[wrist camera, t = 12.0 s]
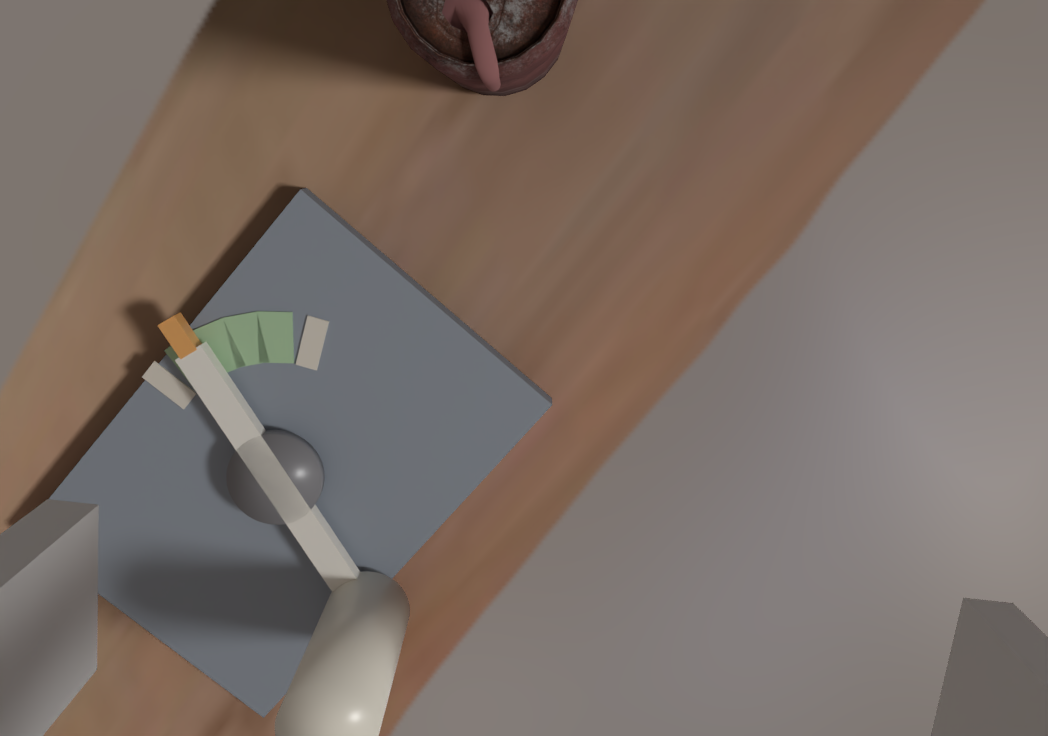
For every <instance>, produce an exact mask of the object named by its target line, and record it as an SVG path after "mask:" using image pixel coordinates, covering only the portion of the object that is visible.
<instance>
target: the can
mask: <svg viewBox="0 0 1048 736" xmlns="http://www.w3.org/2000/svg"><path fill="white" fill-rule="evenodd" d="M577 1H578V0H387V3H388V6H389V10H390V13H391V17H392V20H393V22H394V24H395V25H396V27H397V28H398V30H399V31H400V33H401V34H402V36H403V37H404V39H405V40H406V42H407V43H408V45H409V46H410V48H411V49H412V50H413V51H415V52H416V53H417V54H418V55H420V56H421V57H422V58H423V59H425V60H426V61H427V62H428V63H429V64H431V65H432V66H433V67H434V68H436V69H437V70H439V71H440V72H442V73H443V74H444V75H446V76H447V77H449V78H450V79H452V80H453V81H455V82H456V83H457V84H459V85H460V86H462V87H464V88H466V89H469V90H471V91H474V92H477V93H479V94H482V95H496V96H506V95H510V94H513V93H516V92H520V91H523V90H526V89H528V88H529V87H531V86H532V85H533V84H535V83H536V82H538V81H539V80H541V79H542V78H543V77H545V75H546V74H547V73H548V71H549V70H550V69H551V67H552V66H553V65H554V63H555V62H556V61H557V59H558V57H559V54H560V52H561V49H562V46H563V43H564V40H565V38H566V35H567V32H568V29H569V25H570V22H571V19H572V16H573V13H574V10H575V7H576V4H577Z"/></svg>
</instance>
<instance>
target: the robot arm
mask: <svg viewBox="0 0 1048 736" xmlns="http://www.w3.org/2000/svg"><path fill="white" fill-rule="evenodd" d="M98 523H99V505H97V504H88V503H78V502H69V501H60V500H51V499H47V500H46V501H44V502H43V503H42V504H40V505H39V506H38V507H36V508H35V509H34V510H32V511H31V512H30V513H28V514H27V515H26V516H24V517H23V518H22V519H20V520H19V521H18V522H16V523H15V524H14V525H12V526H11V527H9V528H8V529H7V530H5V531H4V532H3V533H1V534H0V736H43V735H44V733H45V732H46V731H47V730H48V729H49V727H50V726H51V725H52V724H53V722H54V721H55V720H56V719H57V718H58V716H59V715H60V714H61V713H62V711H63V710H64V709H65V708H66V707H67V705H68V704H69V703H70V702H71V701H72V699H73V698H74V697H75V696H76V694H77V693H78V692H79V691H80V690H81V688H82V687H83V686H84V685H85V683H86V682H87V681H88V680H89V679H90V677H91V676H92V675H93V674H94V672H95V671H96V670H97V614H98ZM931 736H1048V637H1047V636H1046V635H1045V634H1044V633H1043V632H1042V631H1041V630H1040V629H1039V628H1038V627H1037V626H1036V625H1035V624H1034V623H1033V622H1031V620H1030V619H1029V618H1028V617H1027V616H1026V615H1025V614H1024V613H1022V612H1021V610H1019V609H1018V608H1017V607H1016V606H1015V605H1014V604H1013V603H1006V602H998V601H988V600H979V599H970V598H963V601H962V606H961V610H960V614H959V618H958V623H957V627H956V631H955V635H954V639H953V644H952V648H951V652H950V657H949V661H948V666H947V670H946V674H945V678H944V682H943V686H942V690H941V695H940V699H939V703H938V708H937V712H936V716H935V720H934V725H933V729H932V733H931Z"/></svg>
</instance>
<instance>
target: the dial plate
mask: <svg viewBox="0 0 1048 736" xmlns="http://www.w3.org/2000/svg"><path fill="white" fill-rule="evenodd" d="M190 327H191V329H192V330H193V332H194V333H195V334H196V336H197V337H198V339H199V340H200V342H201V343H202V344H203V343H204V342H207V343H208V345H209V346H210V348H211V349H212V351H213V352H214V354H215V355H216V357H217V358H218V360H219V361H220V363H221V364H222V366H223V367H224V369H225V370H226V372H227V373H228V375H229V376H230V378H231V379H232V381H233V382H234V384H235V385H236V387H237V388H238V390H239V391H240V393H241V394H242V396H243V397H244V399H245V400H246V402H247V403H248V405H249V406H250V408H251V409H252V411H253V412H254V414H255V415H256V417H257V418H258V420H259V421H260V423H261V424H262V426H263V427H264V429H265V430H266V431H267V430H283V431H288V432H291V433H294V434H296V435H298V436H300V437H302V438H304V439H305V440H306V441H307V442H309V443H310V444H311V445H312V446H313V447H314V449H315V450H316V451H317V453H318V454H319V456H320V458H321V461H322V463H323V467H324V473H325V481H324V487H323V490H322V493H321V495H320V497H319V499H318V500H317V502H316V504H315V505H316V506H317V508H318V509H319V511H320V512H321V514H322V515H323V517H324V518H325V520H326V521H327V523H328V524H329V526H330V527H331V529H332V530H333V532H334V533H335V535H336V536H337V538H338V539H339V541H340V542H341V544H342V545H343V547H344V548H345V550H346V551H347V553H348V554H349V556H350V557H351V559H352V560H353V562H354V563H355V565H356V566H357V568H358V569H359V571H360V572H364V571H370V572H377V573H381V574H384V575H386V576H388V577H390V578H391V579H392V578H393V577H394V576H395V575H396V574H397V573H398V571H399V570H400V569H401V568H402V567H403V566H404V565H405V564H406V563H407V562H408V561H409V560H410V558H411V557H412V556H413V555H414V554H415V553H416V552H417V551H418V550H419V549H420V548H421V547H422V545H423V544H424V543H425V542H426V541H427V540H428V539H429V538H430V537H431V536H432V535H433V534H434V532H435V531H436V530H437V529H438V528H439V527H440V526H441V525H442V524H443V523H444V522H445V521H446V519H447V518H448V517H449V516H450V515H451V514H452V513H453V512H454V511H455V510H456V509H457V508H458V506H459V505H460V504H461V503H462V502H463V501H464V500H465V499H466V498H467V497H468V496H469V495H470V493H471V492H472V491H473V490H474V489H475V488H476V487H477V486H478V485H479V484H480V483H481V482H482V480H483V479H484V478H485V477H486V476H487V475H488V474H489V473H490V472H491V471H492V470H493V469H494V467H495V466H496V465H497V464H498V463H499V462H500V461H501V460H502V459H503V458H504V457H505V456H506V454H507V453H508V452H509V451H510V450H511V449H512V448H513V447H514V446H515V445H516V444H517V443H518V441H519V440H520V439H521V438H522V437H523V436H524V435H525V434H526V433H527V432H528V431H529V429H530V428H531V427H532V426H533V425H534V424H535V423H536V422H537V421H538V420H539V419H540V418H541V416H542V415H543V414H544V413H545V412H546V411H547V410H548V409H549V408H550V407H551V406H552V398H551V397H550V396H549V395H548V394H546V393H545V392H544V391H543V390H542V389H541V388H539V387H538V386H537V385H536V384H535V383H534V382H532V381H531V380H530V379H529V378H528V377H527V376H525V375H524V374H523V373H522V372H521V371H520V370H518V369H517V368H516V367H515V366H514V365H513V364H511V363H510V362H509V361H508V360H507V359H506V358H504V357H503V356H502V355H501V354H500V353H499V352H497V351H496V350H495V349H494V348H493V347H492V346H490V345H489V344H488V343H487V342H486V341H485V340H483V339H482V338H481V337H480V336H479V335H478V334H476V333H475V332H474V331H473V330H472V329H471V328H469V327H468V326H467V325H466V324H465V323H464V322H462V321H461V320H460V319H459V318H458V317H457V316H455V315H454V314H453V313H452V312H451V311H450V310H448V309H447V308H446V307H445V306H444V305H443V304H441V303H440V302H439V301H438V300H437V299H436V298H434V297H433V296H432V295H431V294H430V293H429V292H427V291H426V290H425V289H424V288H423V287H422V286H420V285H419V284H418V283H417V282H416V281H415V280H413V279H412V278H411V277H410V276H409V275H408V274H406V273H405V272H404V271H403V270H402V269H401V268H399V267H398V266H397V265H396V264H395V263H394V262H392V261H391V260H390V259H389V258H388V257H387V256H385V255H384V254H383V253H382V252H381V251H380V250H378V249H377V248H376V247H375V246H374V245H373V244H371V243H370V242H369V241H368V240H367V239H366V238H364V237H363V236H362V235H361V234H360V233H359V232H357V231H356V230H355V229H354V228H353V227H352V226H350V225H349V224H348V223H347V222H346V221H345V220H343V219H342V218H341V217H340V216H339V215H338V214H336V213H335V212H334V211H333V210H332V209H331V208H329V207H328V206H327V205H326V204H325V203H324V202H322V201H321V200H320V199H319V198H318V197H317V196H315V195H314V194H313V193H312V192H311V191H310V190H308V189H307V188H304V189H300V191H299V192H298V193H297V194H296V195H295V197H294V198H293V199H292V200H291V202H290V203H289V204H288V205H287V206H286V208H285V209H284V210H283V211H282V213H281V214H280V215H279V216H278V218H277V219H276V220H275V221H274V222H273V224H272V225H271V226H270V227H269V229H268V230H267V231H266V232H265V234H264V235H263V236H262V237H261V238H260V240H259V241H258V242H257V243H256V245H255V246H254V247H253V248H252V250H251V251H250V252H249V253H248V254H247V256H246V257H245V258H244V259H243V261H242V262H241V263H240V264H239V265H238V267H237V268H236V269H235V270H234V272H233V273H232V274H231V275H230V277H229V278H228V279H227V280H226V281H225V283H224V284H223V285H222V286H221V288H220V289H219V290H218V291H217V293H216V294H215V295H214V296H213V297H212V299H211V300H210V301H209V302H208V304H207V305H206V306H205V307H204V309H203V310H202V311H201V312H200V313H199V315H198V316H197V317H196V318H195V320H194V321H193V322H192V323H191V324H190ZM164 351H165V352H166V355H165V356H164V358H163V359H162V360H161V361H160V363H157V362H156V361H154V362H153V363H152V365H151V366H150V367H149V369H148V370H147V371H146V372H145V374H144V375H143V376H142V378H143V379H145V381H144V382H143V383H142V385H141V386H140V387H139V388H138V390H137V391H136V392H135V393H134V395H133V396H132V397H131V398H130V399H129V401H128V402H127V403H126V404H125V406H124V407H123V408H122V409H121V411H120V412H119V413H118V414H117V415H116V417H115V418H114V419H113V420H112V422H111V423H110V424H109V425H108V427H107V428H106V429H105V430H104V431H103V433H102V434H101V435H100V436H99V438H98V439H97V440H96V441H95V442H94V444H93V445H92V446H91V447H90V449H89V450H88V451H87V452H86V454H85V455H84V456H83V457H82V458H81V460H80V461H79V462H78V463H77V465H76V466H75V467H74V468H73V470H72V471H71V472H70V473H69V474H68V476H67V477H66V478H65V479H64V481H63V482H62V483H61V484H60V486H59V487H58V488H57V489H56V490H55V492H54V493H53V494H52V495H51V497H50V498H49V499H51V500H60V501H69V502H78V503H88V504H97V505H99V523H98V594H99V595H101V596H102V597H103V598H105V599H106V600H107V601H109V602H110V603H111V604H113V605H114V606H115V607H117V608H118V609H119V610H121V611H122V612H123V613H125V614H126V615H127V616H129V617H130V618H131V619H133V620H134V621H135V622H137V623H138V624H139V625H141V626H142V627H143V628H145V629H146V630H147V631H149V632H150V633H151V634H153V635H154V636H155V637H157V638H158V639H159V640H161V641H162V642H163V643H165V644H166V645H167V646H169V647H170V648H171V649H173V650H174V651H175V652H177V653H178V654H179V655H181V656H182V657H183V658H185V659H186V660H187V661H189V662H190V663H191V664H193V665H194V666H195V667H197V668H198V669H199V670H201V671H202V672H203V673H205V674H206V675H207V676H209V677H210V678H211V679H213V680H214V681H215V682H217V683H218V684H219V685H221V686H222V687H223V688H225V689H226V690H227V691H229V692H230V693H231V694H233V695H234V696H235V697H237V698H238V699H239V700H241V701H242V702H243V703H245V704H246V705H247V706H249V707H250V708H251V709H253V710H254V711H255V712H257V713H258V714H259V715H261V716H262V717H263V718H264V717H265V716H266V715H267V714H268V712H269V711H270V710H271V709H272V708H273V707H274V706H275V705H276V704H277V703H278V702H279V700H280V699H281V698H282V697H283V696H284V695H285V694H286V693H287V691H288V689H289V686H290V684H291V682H292V680H293V677H294V675H295V673H296V671H297V668H298V666H299V664H300V662H301V659H302V657H303V655H304V653H305V650H306V648H307V646H308V644H309V641H310V639H311V637H312V635H313V632H314V630H315V628H316V626H317V623H318V621H319V619H320V617H321V614H322V612H323V610H324V608H325V605H326V603H327V601H328V599H329V596H330V594H331V592H332V591H331V590H330V588H329V587H328V585H327V584H326V582H325V581H324V579H323V578H322V576H321V575H320V573H319V572H318V570H317V569H316V567H315V566H314V564H313V563H312V562H311V560H310V559H309V557H308V556H307V554H306V553H305V551H304V550H303V548H302V547H301V545H300V544H299V542H298V541H297V539H296V538H295V537H294V535H293V534H292V532H291V531H290V529H289V528H288V526H287V525H286V524H281V525H272V524H266V523H262V522H259V521H256V520H254V519H252V518H251V517H249V516H247V515H246V514H245V513H243V512H242V511H241V510H240V509H239V508H238V507H237V505H236V504H235V503H234V501H233V499H232V498H231V496H230V493H229V490H228V487H227V481H226V473H227V467H228V464H229V461H230V459H231V457H232V455H233V454H234V452H235V451H236V450H235V448H234V447H233V445H232V444H231V442H230V441H229V439H228V438H227V436H226V435H225V433H224V432H223V431H222V429H221V428H220V426H219V425H218V423H217V422H216V420H215V419H214V417H213V416H212V414H211V413H210V411H209V410H208V408H207V407H206V405H205V404H204V403H203V401H202V400H201V398H200V397H199V395H198V394H197V392H196V391H195V389H194V388H193V386H192V385H191V383H190V382H189V380H188V379H187V378H186V376H185V375H184V373H183V372H182V370H181V369H180V367H179V366H178V364H177V363H176V361H175V360H176V359H178V358H179V357H178V355H177V354H176V352H175V351H174V349H173V348H172V346H170V347H168V348H167V349H166V350H164Z"/></svg>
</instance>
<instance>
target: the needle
mask: <svg viewBox="0 0 1048 736" xmlns="http://www.w3.org/2000/svg"><path fill="white" fill-rule="evenodd" d="M157 326H158V327H159V329H160V330H161V332H162V333H163V335H164V336H165V337H166V339H167V340H168V342H169V343H170V345H171V346H172V348H173V349H174V351H175V352H176V354H177V355H178V357H179V358H178V359H176V360H175V361H176V363H177V364H178V366H179V367H180V369H181V370H182V372H183V373H184V375H185V376H186V378H187V379H188V380H189V382H190V383H191V385H192V386H193V388H194V389H195V391H196V392H197V394H198V395H199V397H200V398H201V400H202V401H203V403H204V404H205V405H206V407H207V408H208V410H209V411H210V413H211V414H212V416H213V417H214V419H215V420H216V422H217V423H218V425H219V426H220V428H221V429H222V431H223V432H224V433H225V435H226V436H227V438H228V439H229V441H230V442H231V444H232V445H233V447H234V448H235V450H236V451H235V452H234V454H233V455H232V457H231V459H230V461H229V464H228V467H227V473H226V481H227V487H228V490H229V493H230V496H231V498H232V499H233V501H234V503H235V504H236V505H237V507H238V508H239V509H240V510H241V511H242V512H243V513H245V514H246V515H247V516H249V517H251V518H252V519H254V520H256V521H259V522H262V523H266V524H272V525H281V524H286V525H287V526H288V528H289V529H290V531H291V532H292V534H293V535H294V537H295V538H296V539H297V541H298V542H299V544H300V545H301V547H302V548H303V550H304V551H305V553H306V554H307V556H308V557H309V559H310V560H311V562H312V563H313V564H314V566H315V567H316V569H317V570H318V572H319V573H320V575H321V576H322V578H323V579H324V581H325V582H326V584H327V585H328V587H329V588H330V590H331V591H332V592H331V594H330V596H329V599H328V601H327V603H326V605H325V608H324V610H323V612H322V614H321V617H320V619H319V621H318V623H317V626H316V628H315V630H314V632H313V635H312V637H311V639H310V641H309V644H308V646H307V648H306V650H305V653H304V655H303V657H302V659H301V662H300V664H299V666H298V668H297V671H296V673H295V675H294V677H293V680H292V682H291V684H290V686H289V689H288V691H287V693H286V695H285V698H284V700H283V702H282V704H281V707H280V709H279V711H278V714H277V717H276V721H275V735H276V736H379V732H380V728H381V724H382V720H383V717H384V713H385V709H386V705H387V701H388V697H389V693H390V690H391V686H392V682H393V678H394V674H395V670H396V666H397V663H398V659H399V655H400V651H401V647H402V643H403V639H404V636H405V632H406V628H407V624H408V620H409V615H410V606H409V601H408V598H407V596H406V594H405V592H404V590H403V589H402V588H401V586H400V585H399V584H398V583H397V582H396V581H394V580H393V579H391V578H390V577H388V576H386V575H384V574H381V573H377V572H370V571H364V572H360V571H359V569H358V568H357V566H356V565H355V563H354V562H353V560H352V559H351V557H350V556H349V554H348V553H347V551H346V550H345V548H344V547H343V545H342V544H341V542H340V541H339V539H338V538H337V536H336V535H335V533H334V532H333V530H332V529H331V527H330V526H329V524H328V523H327V521H326V520H325V518H324V517H323V515H322V514H321V512H320V511H319V509H318V508H317V506H316V505H315V504H316V502H317V500H318V499H319V497H320V495H321V493H322V490H323V487H324V481H325V473H324V467H323V463H322V461H321V458H320V456H319V454H318V453H317V451H316V450H315V449H314V447H313V446H312V445H311V444H310V443H309V442H307V441H306V440H305V439H304V438H302V437H300V436H298V435H296V434H294V433H291V432H288V431H283V430H267V431H266V430H265V429H264V427H263V426H262V424H261V423H260V421H259V420H258V418H257V417H256V415H255V414H254V412H253V411H252V409H251V408H250V406H249V405H248V403H247V402H246V400H245V399H244V397H243V396H242V394H241V393H240V391H239V390H238V388H237V387H236V385H235V384H234V382H233V381H232V379H231V378H230V376H229V375H228V373H227V372H226V370H225V369H224V367H223V366H222V364H221V363H220V361H219V360H218V358H217V357H216V355H215V354H214V352H213V351H212V349H211V348H210V346H209V345H208V343H207V342H204V343H203V344H202V343H201V342H200V340H199V339H198V337H197V336H196V334H195V333H194V332H193V330H192V329H191V327H190V326H189V324H188V323H187V321H186V320H185V318H184V317H183V315H182V314H181V312H180V313H178V314H176V315H174V316H172V317H171V318H169V319H167V320H166V321H164V322H162V323H161V324H159V325H157Z"/></svg>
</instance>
